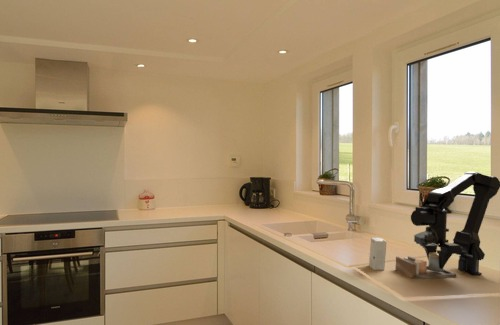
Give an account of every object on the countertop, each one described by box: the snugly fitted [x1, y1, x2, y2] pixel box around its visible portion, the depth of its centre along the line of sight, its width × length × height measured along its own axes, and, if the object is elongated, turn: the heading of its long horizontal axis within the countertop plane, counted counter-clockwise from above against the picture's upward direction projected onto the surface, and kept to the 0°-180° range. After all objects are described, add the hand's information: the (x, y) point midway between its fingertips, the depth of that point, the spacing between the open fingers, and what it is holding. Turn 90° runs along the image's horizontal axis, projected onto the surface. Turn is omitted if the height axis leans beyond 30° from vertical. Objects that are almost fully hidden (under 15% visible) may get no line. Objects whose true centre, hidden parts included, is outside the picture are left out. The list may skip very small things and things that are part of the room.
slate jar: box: [427, 251, 444, 272], centre depth 133 cm, size 5×5×6 cm
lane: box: [395, 256, 457, 280], centre depth 132 cm, size 18×10×6 cm, turn 102°
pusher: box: [403, 256, 419, 275], centre depth 131 cm, size 1×7×6 cm, turn 12°
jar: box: [415, 258, 428, 275], centre depth 132 cm, size 5×5×4 cm
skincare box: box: [368, 237, 387, 271], centre depth 137 cm, size 6×4×12 cm
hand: (435, 266), depth 133 cm, fingers closed on slate jar, 5 cm apart
